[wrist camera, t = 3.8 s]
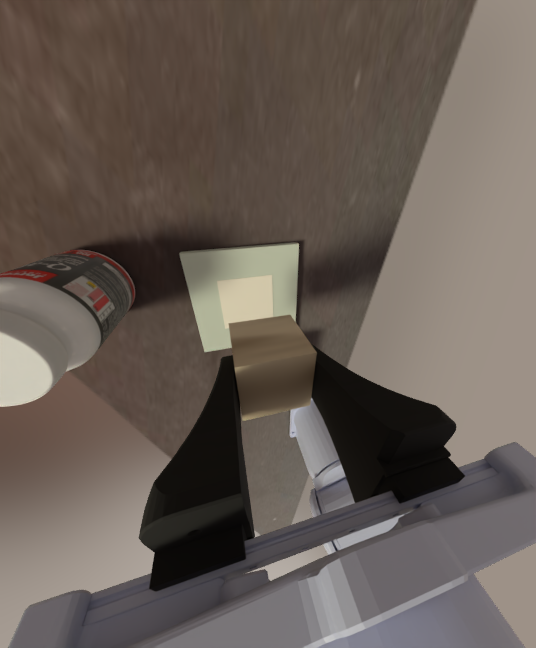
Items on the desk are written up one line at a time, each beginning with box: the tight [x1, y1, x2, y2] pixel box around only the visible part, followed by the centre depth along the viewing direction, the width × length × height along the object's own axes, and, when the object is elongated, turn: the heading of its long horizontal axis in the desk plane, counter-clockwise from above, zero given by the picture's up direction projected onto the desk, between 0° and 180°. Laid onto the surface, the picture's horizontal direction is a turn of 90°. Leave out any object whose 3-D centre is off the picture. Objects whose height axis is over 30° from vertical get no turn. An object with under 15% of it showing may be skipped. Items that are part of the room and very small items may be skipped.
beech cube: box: [228, 315, 317, 421], centre depth 12 cm, size 4×4×4 cm
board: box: [179, 242, 299, 352], centre depth 20 cm, size 10×10×1 cm
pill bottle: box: [0, 250, 135, 407], centre depth 12 cm, size 6×6×10 cm
